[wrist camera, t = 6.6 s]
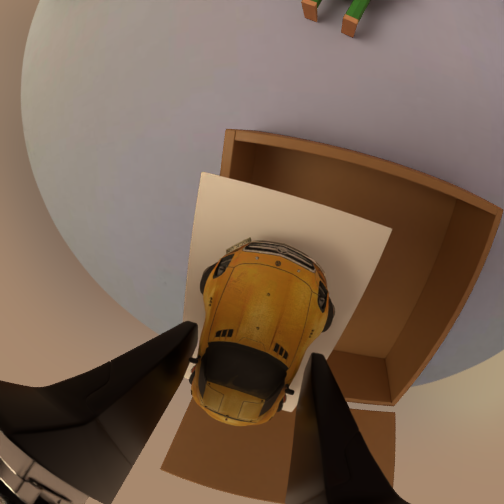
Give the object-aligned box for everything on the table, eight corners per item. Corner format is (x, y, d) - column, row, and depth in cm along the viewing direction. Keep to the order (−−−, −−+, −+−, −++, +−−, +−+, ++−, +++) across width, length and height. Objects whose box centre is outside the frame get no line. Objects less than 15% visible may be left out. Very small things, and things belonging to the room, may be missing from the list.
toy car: (354, 257, 7) (365, 304, 5) (275, 410, 11) (265, 451, 9) (218, 216, 8) (181, 248, 6) (193, 383, 12) (174, 421, 10)
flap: (395, 412, 16) (392, 414, 16) (202, 374, 18) (202, 377, 18) (391, 505, 9) (388, 505, 9) (159, 469, 11) (161, 470, 12)
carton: (386, 359, 21) (393, 406, 16) (226, 324, 23) (204, 369, 18) (461, 188, 14) (503, 209, 9) (252, 130, 16) (225, 128, 11)
